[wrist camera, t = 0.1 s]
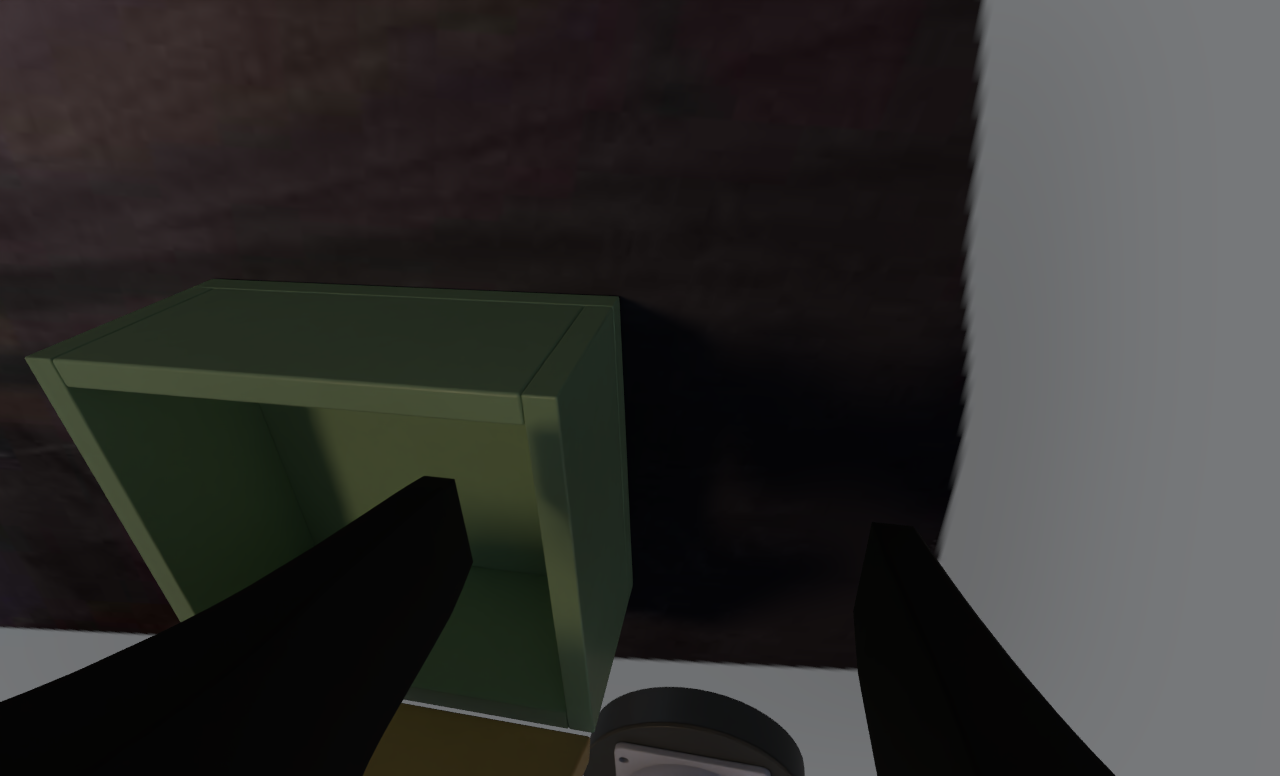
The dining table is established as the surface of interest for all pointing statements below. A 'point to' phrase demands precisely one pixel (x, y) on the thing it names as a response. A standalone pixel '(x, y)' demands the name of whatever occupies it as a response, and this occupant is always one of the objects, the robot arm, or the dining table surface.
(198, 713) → the robot arm
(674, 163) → the dining table surface
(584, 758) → the yellow box lid
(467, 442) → the green open cubby
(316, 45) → the dining table surface
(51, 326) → the dining table surface
